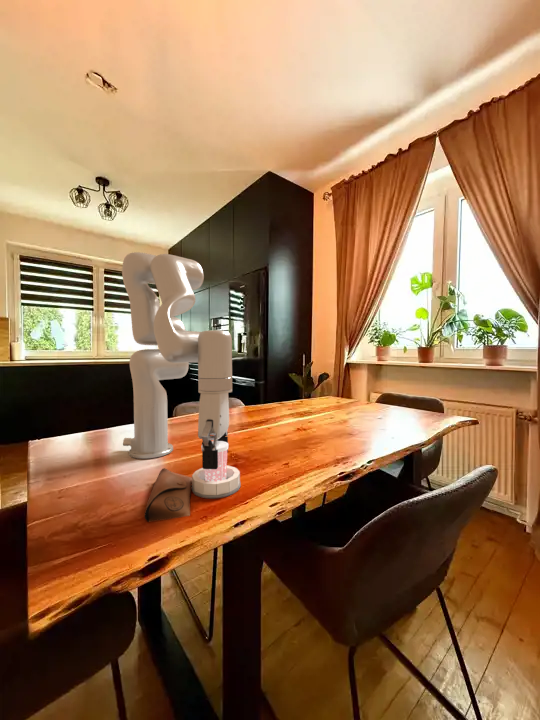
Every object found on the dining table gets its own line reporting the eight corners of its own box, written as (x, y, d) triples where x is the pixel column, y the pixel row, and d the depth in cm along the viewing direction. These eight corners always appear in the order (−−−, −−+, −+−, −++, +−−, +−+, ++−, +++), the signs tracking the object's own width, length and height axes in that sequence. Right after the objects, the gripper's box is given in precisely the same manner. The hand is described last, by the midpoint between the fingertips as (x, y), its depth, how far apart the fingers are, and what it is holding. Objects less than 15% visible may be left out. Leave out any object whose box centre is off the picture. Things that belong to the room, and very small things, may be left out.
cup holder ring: (184, 497, 63) (184, 483, 63) (200, 476, 74) (200, 464, 74) (235, 499, 63) (235, 485, 63) (244, 477, 74) (244, 465, 73)
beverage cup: (219, 475, 73) (218, 418, 72) (234, 483, 68) (233, 422, 68) (197, 483, 69) (195, 423, 68) (211, 492, 64) (210, 428, 64)
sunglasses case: (192, 516, 56) (173, 487, 55) (159, 539, 55) (138, 511, 54) (194, 477, 74) (179, 455, 73) (169, 494, 72) (153, 472, 71)
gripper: (209, 381, 77) (210, 447, 77) (185, 390, 60) (186, 475, 60) (238, 381, 76) (239, 448, 77) (222, 390, 59) (223, 476, 59)
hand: (216, 460), depth 68 cm, fingers open, 9 cm apart
